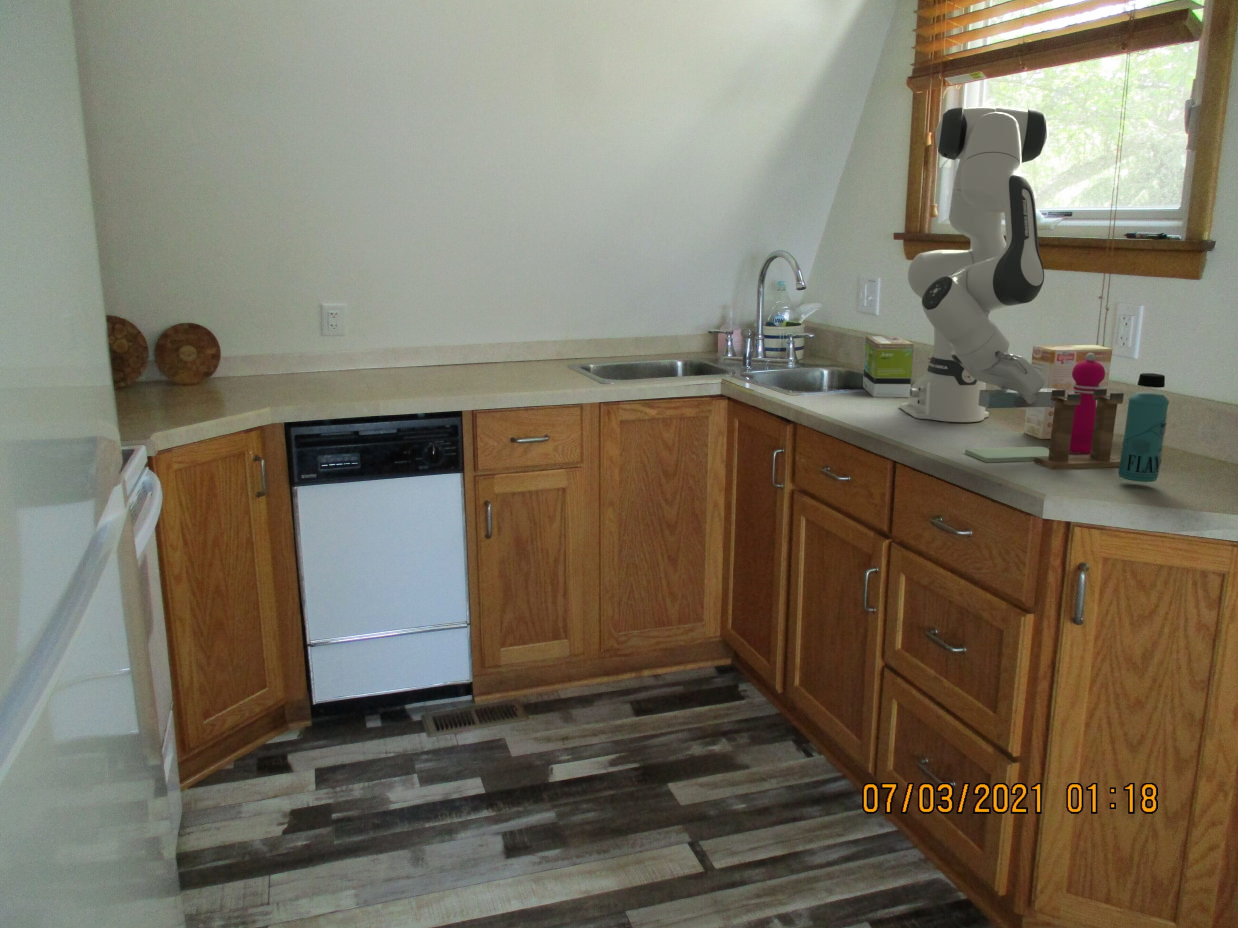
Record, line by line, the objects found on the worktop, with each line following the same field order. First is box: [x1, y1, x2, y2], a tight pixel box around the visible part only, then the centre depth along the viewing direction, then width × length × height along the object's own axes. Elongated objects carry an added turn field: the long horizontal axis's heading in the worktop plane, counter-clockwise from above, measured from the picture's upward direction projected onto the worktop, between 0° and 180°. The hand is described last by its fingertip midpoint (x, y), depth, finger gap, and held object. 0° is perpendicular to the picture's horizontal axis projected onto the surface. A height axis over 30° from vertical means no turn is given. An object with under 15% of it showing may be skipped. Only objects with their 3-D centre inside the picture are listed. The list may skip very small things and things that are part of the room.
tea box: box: [862, 335, 914, 398], centre depth 265 cm, size 15×10×15 cm, turn 178°
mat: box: [964, 446, 1050, 463], centre depth 195 cm, size 8×17×1 cm, turn 101°
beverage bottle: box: [1117, 372, 1170, 483], centre depth 171 cm, size 6×7×20 cm
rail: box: [978, 389, 1057, 409], centre depth 192 cm, size 4×16×3 cm, turn 101°
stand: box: [1033, 388, 1125, 470], centre depth 187 cm, size 6×15×14 cm, turn 101°
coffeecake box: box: [1023, 344, 1113, 440], centre depth 213 cm, size 15×7×20 cm, turn 102°
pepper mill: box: [1069, 353, 1105, 455], centre depth 198 cm, size 7×7×20 cm
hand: (1023, 398), depth 192 cm, fingers closed on rail, 3 cm apart
